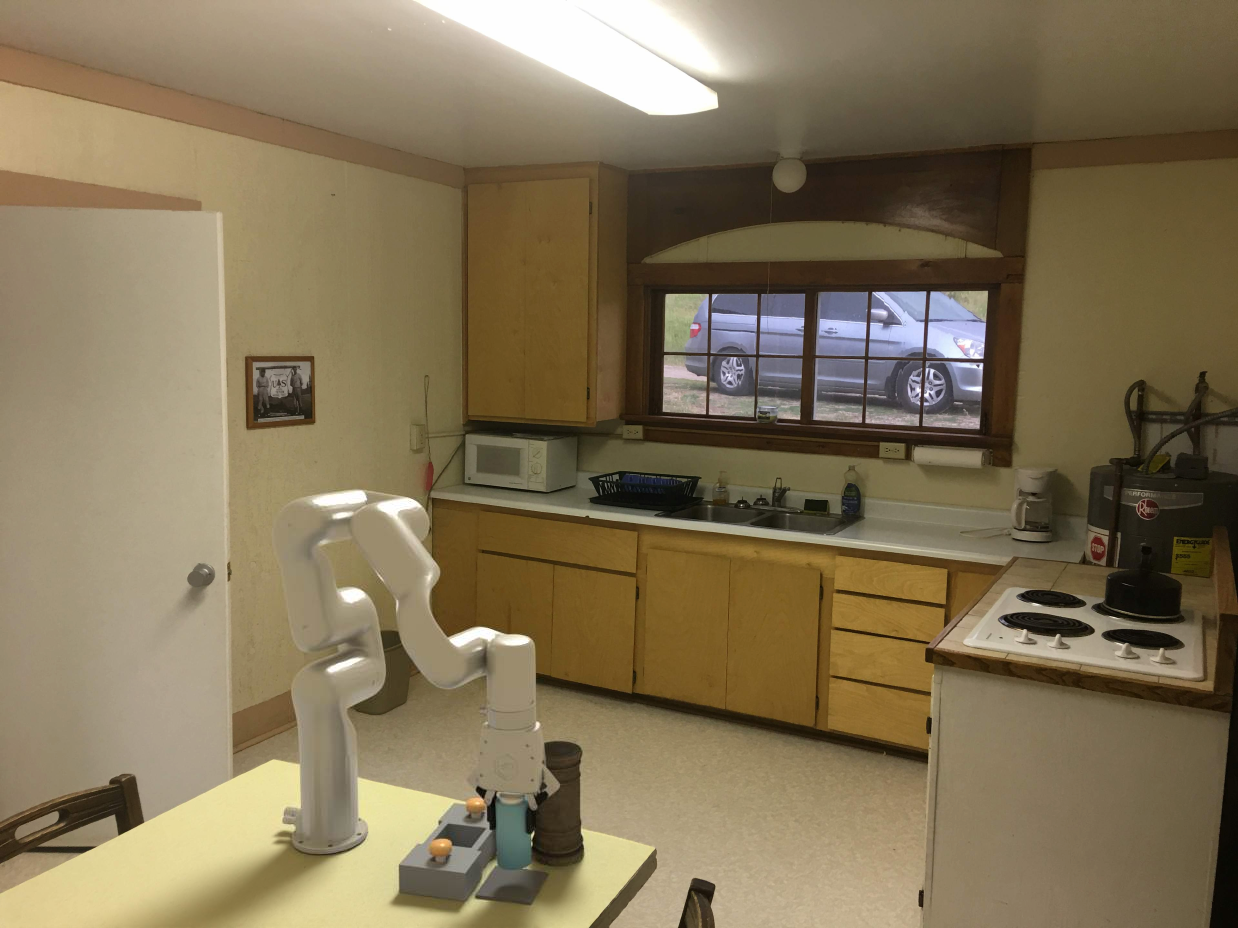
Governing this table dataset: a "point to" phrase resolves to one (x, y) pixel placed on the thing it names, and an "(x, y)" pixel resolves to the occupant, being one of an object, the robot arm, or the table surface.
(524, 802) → the cartridge
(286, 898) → the table surface
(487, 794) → the robot arm
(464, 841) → the housing
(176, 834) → the table surface
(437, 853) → the plunger
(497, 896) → the mat
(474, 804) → the orange mushroom peg
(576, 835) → the container
